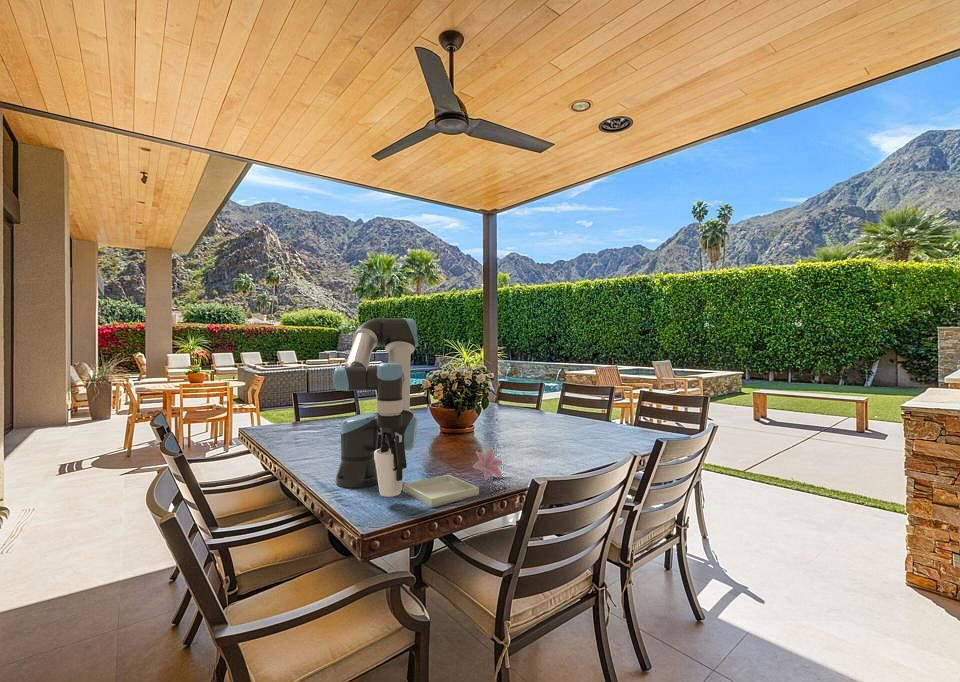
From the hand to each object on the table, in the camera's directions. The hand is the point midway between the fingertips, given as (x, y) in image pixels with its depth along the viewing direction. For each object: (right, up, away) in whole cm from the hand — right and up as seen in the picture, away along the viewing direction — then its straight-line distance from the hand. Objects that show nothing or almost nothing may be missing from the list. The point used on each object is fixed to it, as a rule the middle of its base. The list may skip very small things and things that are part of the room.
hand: (390, 486), depth 141 cm
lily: (+30, -6, +29) cm, 42 cm away
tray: (+15, -6, +10) cm, 19 cm away
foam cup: (0, -2, 0) cm, 2 cm away
